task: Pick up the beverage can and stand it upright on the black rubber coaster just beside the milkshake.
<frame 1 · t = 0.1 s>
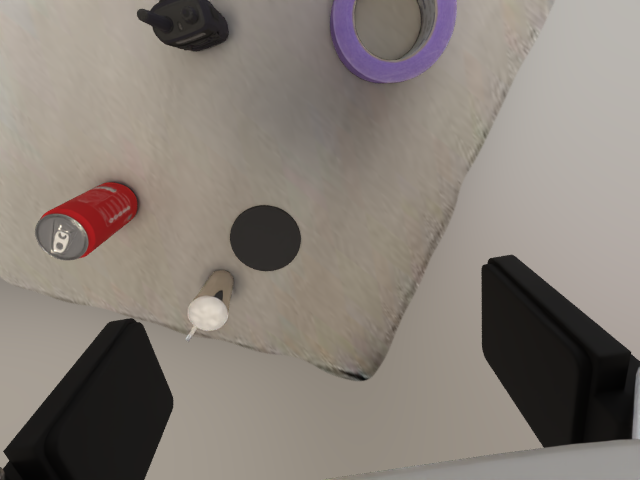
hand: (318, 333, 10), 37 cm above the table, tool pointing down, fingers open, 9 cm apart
milkshake: (220, 281, 52), on the table
tape roll: (384, 23, 41), on the table
beverage can: (119, 200, 47), on the table
two-way radio: (203, 26, 40), on the table
coaster: (265, 238, 49), on the table
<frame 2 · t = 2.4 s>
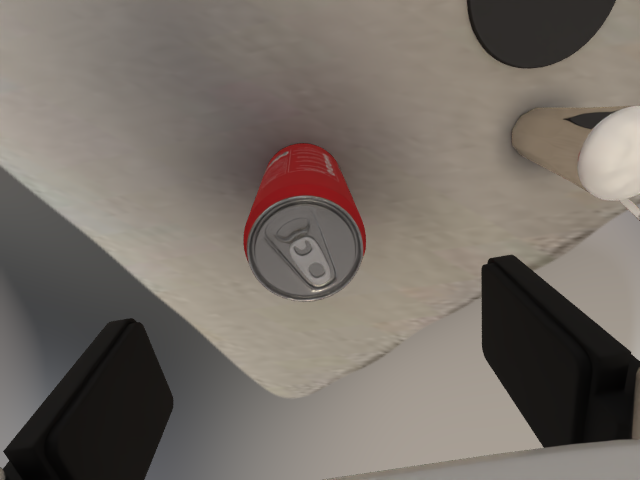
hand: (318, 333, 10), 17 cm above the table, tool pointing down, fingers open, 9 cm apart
milkshake: (532, 138, 26), on the table
beverage can: (303, 178, 27), on the table
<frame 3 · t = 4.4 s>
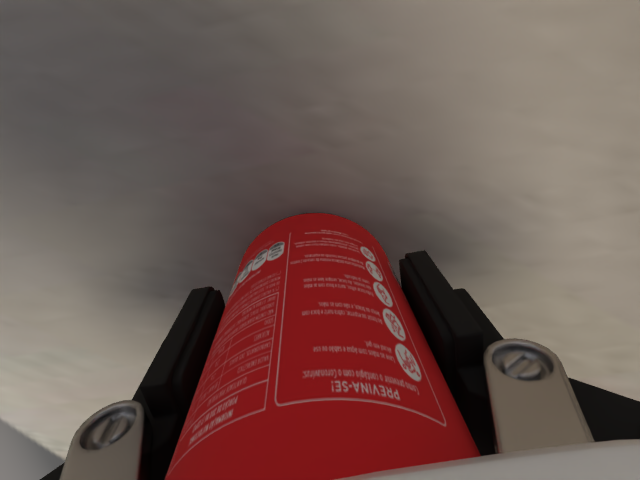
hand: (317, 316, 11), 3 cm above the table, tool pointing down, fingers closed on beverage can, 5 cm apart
beverage can: (314, 268, 14), on the table, touching gripper
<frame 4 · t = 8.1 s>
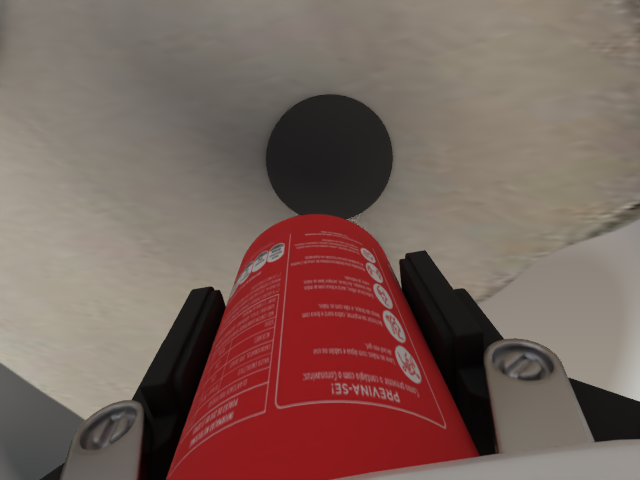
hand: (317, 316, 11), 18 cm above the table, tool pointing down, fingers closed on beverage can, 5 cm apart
beverage can: (314, 269, 14), point 15 cm above the table, touching gripper
coaster: (329, 161, 28), on the table
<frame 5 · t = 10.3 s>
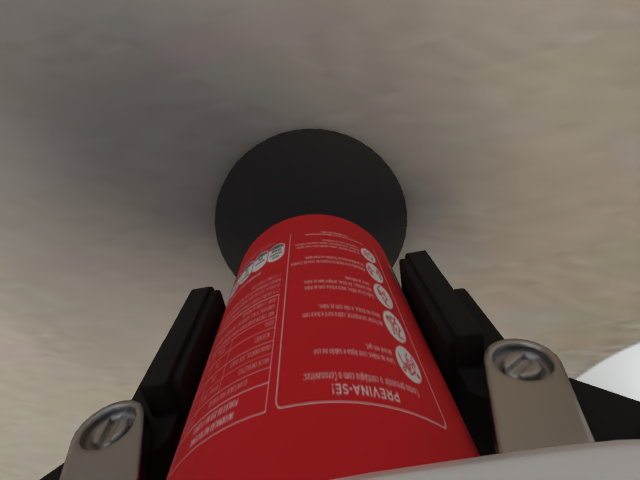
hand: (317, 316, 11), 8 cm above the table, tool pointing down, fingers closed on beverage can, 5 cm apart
beverage can: (314, 269, 14), point 5 cm above the table, touching gripper
coaster: (311, 225, 18), on the table
when the fingers open (3 cm above the table, at t = 11.8 s): beverage can stays where it is, resting on coaster.
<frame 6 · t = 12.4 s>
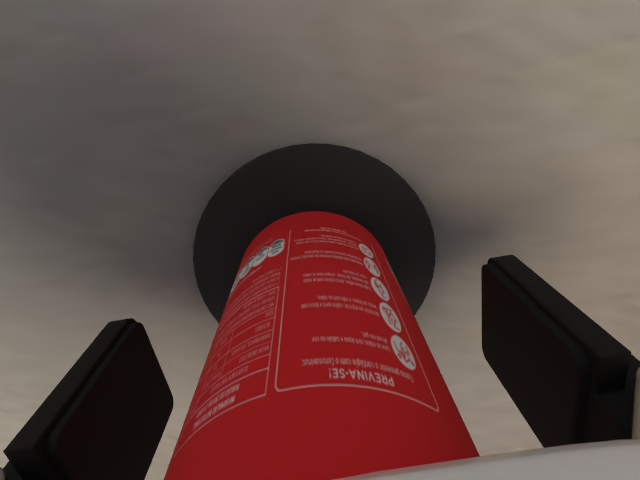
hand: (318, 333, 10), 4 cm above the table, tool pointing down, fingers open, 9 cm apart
beverage can: (313, 265, 14), resting on coaster
coaster: (315, 263, 15), on the table
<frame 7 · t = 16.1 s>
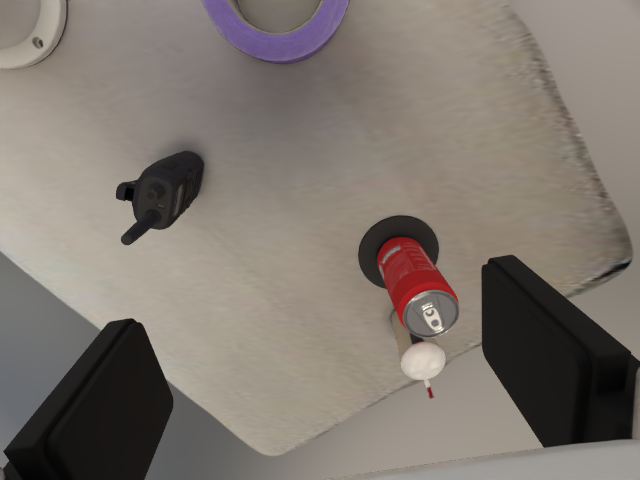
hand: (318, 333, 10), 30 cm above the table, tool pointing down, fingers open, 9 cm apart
milkshake: (404, 318, 47), on the table
beverage can: (397, 254, 43), resting on coaster
two-way radio: (182, 172, 39), on the table
coaster: (398, 253, 43), on the table
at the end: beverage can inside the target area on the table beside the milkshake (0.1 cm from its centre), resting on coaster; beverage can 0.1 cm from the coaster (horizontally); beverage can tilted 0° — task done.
